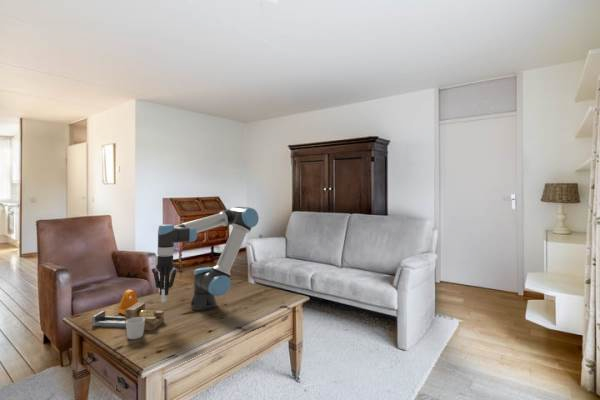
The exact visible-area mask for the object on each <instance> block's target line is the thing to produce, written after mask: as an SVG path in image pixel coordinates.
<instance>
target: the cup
mask: <svg viewBox="0 0 600 400" xmlns="http://www.w3.org/2000/svg"><path fill="white" fill-rule="evenodd" d="M144 324H145V319H144V318H142V317H135V318H131V319H128V320H127V321H126V328H125V330H126V337H127V339H129V340H139V339H140V338H142V337H143V336H144V331H145V330H144Z"/></svg>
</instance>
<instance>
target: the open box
mask: <svg viewBox="0 0 600 400" xmlns="http://www.w3.org/2000/svg"><path fill="white" fill-rule="evenodd" d="M138 310H146V302H139V301H138V303H136V304H134V305H133V306H131V307H130V308H128V309H126V321H127V320H128V319H131V318H135V317H142V318H144V319H145V324H144V331H145V330H147V331H148V330H149V331H155V329H157V328H158V327H159V326H161V324H163V322H164V321H165V320H164V319H165V310H155V311H156V317H151V316H137V311H138ZM150 310H151V309H150ZM151 311H153V309H152V310H151Z"/></svg>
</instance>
